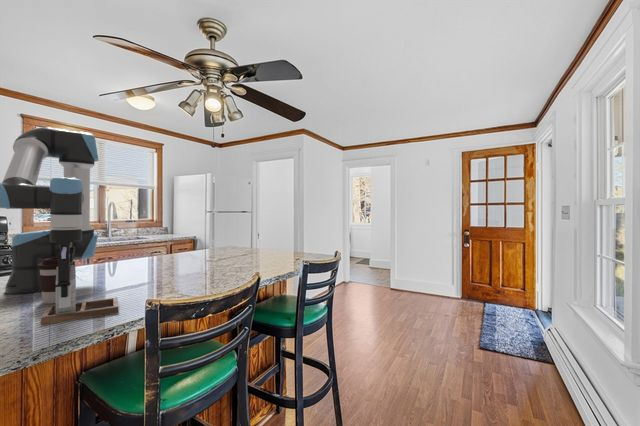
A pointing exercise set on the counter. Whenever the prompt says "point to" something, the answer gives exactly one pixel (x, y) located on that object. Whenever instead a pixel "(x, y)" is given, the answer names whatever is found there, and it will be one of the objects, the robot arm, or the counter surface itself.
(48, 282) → the coffee cup
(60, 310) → the container
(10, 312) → the counter surface
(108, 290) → the counter surface
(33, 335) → the counter surface
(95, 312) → the walnut divider frame
